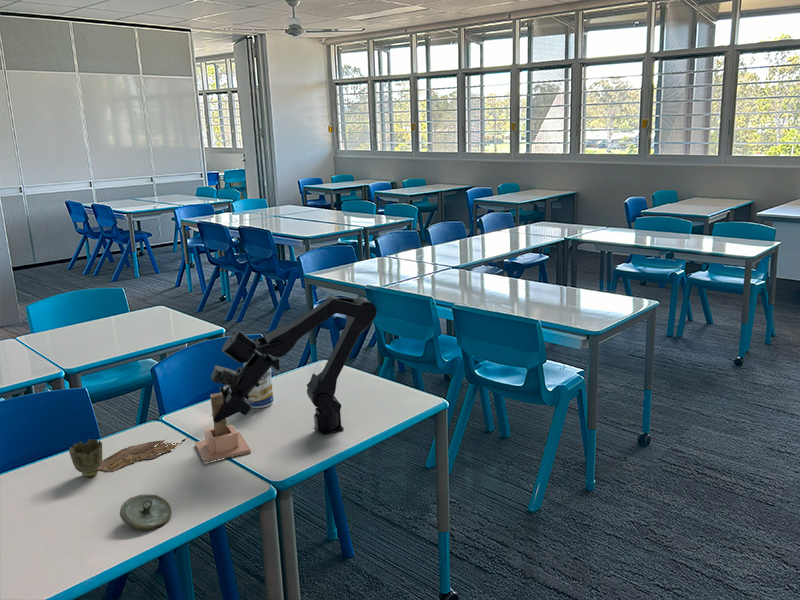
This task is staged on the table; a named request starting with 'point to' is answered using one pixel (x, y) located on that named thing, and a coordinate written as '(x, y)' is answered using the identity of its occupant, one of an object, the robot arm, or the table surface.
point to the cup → (87, 457)
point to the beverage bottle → (262, 392)
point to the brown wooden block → (216, 404)
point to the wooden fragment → (135, 455)
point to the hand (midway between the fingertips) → (214, 419)
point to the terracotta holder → (222, 445)
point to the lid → (145, 512)
